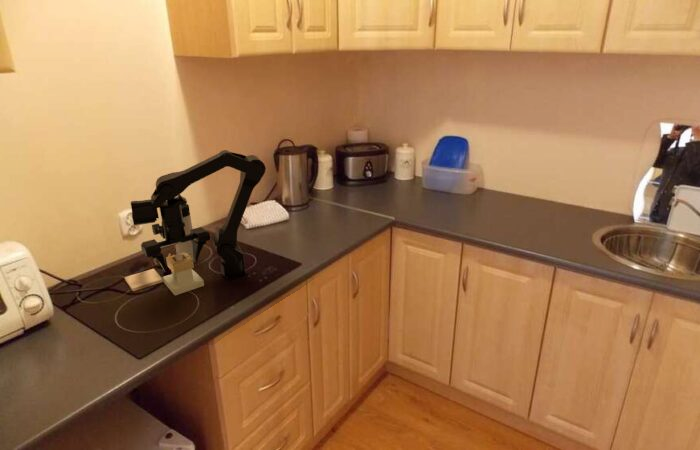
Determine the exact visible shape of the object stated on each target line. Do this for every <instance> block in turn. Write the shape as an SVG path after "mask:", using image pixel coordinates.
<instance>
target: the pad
mask: <svg viewBox="0 0 700 450" xmlns="http://www.w3.org/2000/svg"><path fill="white" fill-rule="evenodd" d="M123 278H124V280H125V282H126V283H127V285H128V287H129V288H130V289H131V291H132V292H136V291H139V290H142V289H146V288H148V287H152V286H154V285H158V284H161V283H164V281H163V277H162V276H160V274H159V272H157V270H155V268H151V269H148V270H145V271H141V272H138V273H134V274H130V275H128V276H125V277H123Z"/></svg>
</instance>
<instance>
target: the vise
mask: <svg viewBox="0 0 700 450" xmlns="http://www.w3.org/2000/svg"><path fill="white" fill-rule="evenodd" d="M174 255H175V257H176V262H177V261H180V260H183V256H182V254H177V253H176V254H174ZM193 269H194V268H191V269H187V270H184V271H181V272H178V273H175V274H174V273H173V272H172V271H171V270H170V271H171V274H168V275H164V276H162V279H163V283H164V285H165V286H166V287H167V288H168V289H169V291H171V293H172V294H173V295H174V296H178V295H181V294H184V293H186V292H191V291H193V290H195V289H198V288H201V287H204V286H205V282H204V279H203V278H202V277H201V276H200V275H199V274H198V273H197V272H196V271H195V270H193Z"/></svg>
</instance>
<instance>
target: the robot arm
mask: <svg viewBox="0 0 700 450" xmlns="http://www.w3.org/2000/svg"><path fill="white" fill-rule="evenodd" d="M226 167H229V168H231V169H234V170H237V171H239V172H240V175H239V182H238V183H239V184H238V186H237V190H236V192H235V194H234V198H233V200H232V203H231V205H230V208H229V211H228V213H227V216H226V218H225V221H224V223H223V225H221V227H218V226H216V227H215V230H214V234H213V235H212V237H211V235H210V232H209V231H208V230H207V229H205V228H204V227H202V226H200V227H196V228H193V229H191V230H190V234H188V235H186V234H185V229H184V227H185V223H184V222H183V217H182V211H181V205H182V204H188V201H187V199H186V197H184V196H182V195H181V194H182V193H183V192H184V191H185V190H186V189H187V188H189V186H191V185H193V184H194V183H197V182H198V181H200V180H202V179H204V178H206V177H208V176H210V175H213V174H214V173H216V172H218V171H220V170H223V169H224V168H226ZM266 169H267V168H266V165H265V163H264V162H263V160H261V159H260V158H259V157H258V156H256V155H254V154H248V155H244V154H241V153H237V152H234V151H233V152H231V151H229V150H226V149H223V150H221V151H220V152H218V153H217V154H214V155H212V156H210V157H208V158H206V159H205V160H202V161H200V162H198V163H196V164H194V165H192V166H190V167H188V168H186V169H183V170H181V171H176V172H175V171H174V172H170V173H167V174H163V175H161V176H160V177H157V179H156V181H155V189H154V190H153V193H152V194H151V196H150V198H149V199H144V200H132V201H130V208H131V218H132V222H133V226H140V225H147V224H151V230H152V233H153V235H154V236H157V235H160V237H161V238H162V239H165V240H162V241H159V242H157V240H156V239H154V238H153V239H150V240H146V241H142V242H141V244H140V247H141V252H142V253H143V255H145V256H146V257H147V258H152V259H156V260H157V261H158V263H159V265H160V266H161V268H162V269H163V271H164V272H165V273H167V272H168V271H167V270H168V269H167V263H166V261H165V260H166V259H165V257H164V254H163V253H162V249H165V248H168V247H172V246H175V245H176V244H179V243H183V242H187V241H190V240H191V242H192V247H193V258H194V262H193V263H195V264H196V263H197V262H198V260H199V257H200V254H201V251H202V250H203V247H204V245H206V244H207V242H208V241H210V240H211V238H212V244H213V246H214V248H215V252H216V254H217V255H218V256H219V257H220V259H221V261H220V265H219V266H220V273H221V275H222V276H223V277H224V278H226V279H227V280H228V281H231V280H234V279H237V278H241V277H242V276H243V277H244V276H247V275H248V271H247V270H246V268H245V258H244V253H243V252H242V249H241V247H240V245H239V244H238V241H237V240H238V230H239V227H240V225H241V222H242V220H243V217H244V215H245V213H246V209H247V208H248V207H247V206H248V204H249V201H250V198H251V196H252V193H253V191H254V189H255V187H257V185H258V184H259V183H260V182H261V180H262V178H263V177H264V175H265V173H266ZM158 208H159V211H158ZM159 212H160V217H161V225H160V223H156V222H157V220H158V219H159V218H160V217H159ZM153 223H154V224H153Z"/></svg>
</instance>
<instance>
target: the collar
mask: <svg viewBox="0 0 700 450" xmlns="http://www.w3.org/2000/svg"><path fill="white" fill-rule="evenodd" d="M180 254H182V256H183V260H180V261H177V262H176V257H175V255H176V254H173V255H169V256H166V257H165V260H166V261H165V262H166V267H168V268H169V270H170V271H172V272H173V273H174V274H175V273H178V272H181V271H184V270H187V269H191V268H192V269H194V268H195V266H194V265H195V264H194V262H193V258H191V257H190V256H189V255H188V254H187V253H186V252H183V253H180ZM172 272H171V273H172Z"/></svg>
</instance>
